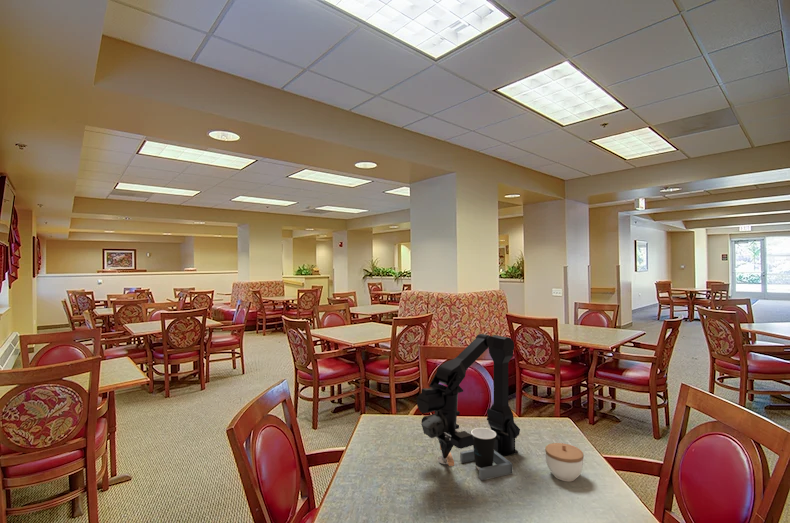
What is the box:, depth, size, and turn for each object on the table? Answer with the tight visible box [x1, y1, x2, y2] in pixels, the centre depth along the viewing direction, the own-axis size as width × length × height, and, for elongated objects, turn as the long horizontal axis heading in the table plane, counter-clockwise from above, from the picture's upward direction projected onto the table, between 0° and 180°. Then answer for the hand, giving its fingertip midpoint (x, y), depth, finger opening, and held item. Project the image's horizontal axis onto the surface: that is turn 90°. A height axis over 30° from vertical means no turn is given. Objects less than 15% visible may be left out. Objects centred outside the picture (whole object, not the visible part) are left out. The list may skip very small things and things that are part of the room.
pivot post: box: [437, 453, 449, 466], centre depth 129 cm, size 5×5×4 cm
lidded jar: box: [544, 442, 584, 483], centre depth 119 cm, size 11×11×9 cm
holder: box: [459, 448, 513, 481], centre depth 125 cm, size 11×12×3 cm
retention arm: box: [439, 445, 455, 467], centre depth 124 cm, size 13×4×1 cm, turn 2°
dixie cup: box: [470, 427, 496, 471], centre depth 125 cm, size 8×8×11 cm
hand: (445, 457), depth 121 cm, fingers closed, pressing on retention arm
